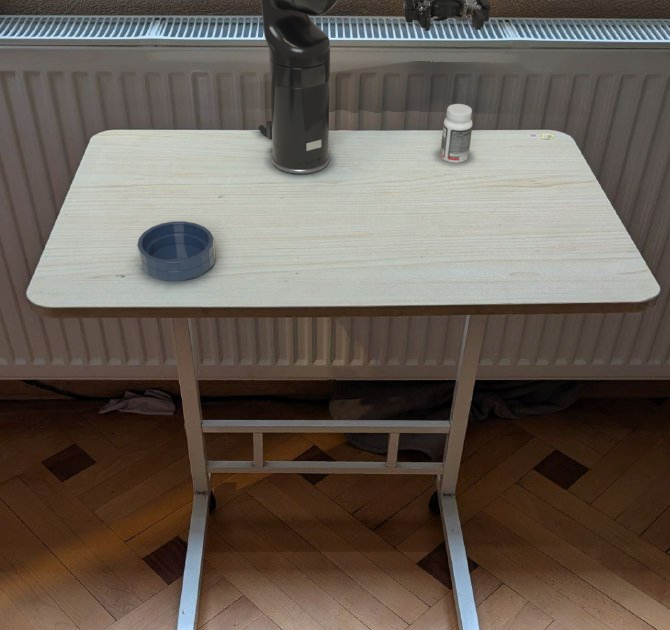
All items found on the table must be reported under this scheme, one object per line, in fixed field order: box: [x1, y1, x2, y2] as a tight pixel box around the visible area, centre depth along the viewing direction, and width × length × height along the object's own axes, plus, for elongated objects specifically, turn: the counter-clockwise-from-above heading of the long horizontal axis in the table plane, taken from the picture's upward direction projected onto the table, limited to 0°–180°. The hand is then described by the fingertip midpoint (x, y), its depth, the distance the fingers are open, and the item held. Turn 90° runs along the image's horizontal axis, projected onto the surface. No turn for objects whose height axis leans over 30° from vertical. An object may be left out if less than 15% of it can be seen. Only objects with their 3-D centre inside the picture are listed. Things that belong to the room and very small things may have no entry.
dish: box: [137, 220, 216, 282], centre depth 115 cm, size 10×10×4 cm
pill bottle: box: [439, 103, 473, 164], centre depth 137 cm, size 5×5×8 cm
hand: (454, 24), depth 136 cm, fingers open, 8 cm apart
